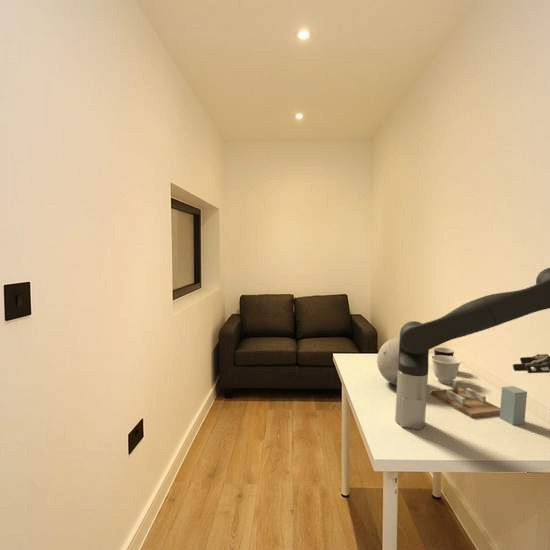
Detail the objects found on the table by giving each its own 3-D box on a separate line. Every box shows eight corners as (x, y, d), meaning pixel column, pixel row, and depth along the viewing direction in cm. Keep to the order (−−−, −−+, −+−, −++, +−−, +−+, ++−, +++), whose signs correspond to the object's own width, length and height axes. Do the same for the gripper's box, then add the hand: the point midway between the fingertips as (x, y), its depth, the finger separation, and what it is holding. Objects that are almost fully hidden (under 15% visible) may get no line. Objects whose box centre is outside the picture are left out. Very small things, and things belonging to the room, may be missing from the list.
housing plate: (503, 414, 125) (504, 396, 125) (471, 417, 122) (472, 399, 121) (459, 391, 145) (461, 376, 144) (430, 394, 141) (432, 378, 140)
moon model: (418, 399, 136) (421, 347, 135) (368, 385, 148) (370, 338, 147) (431, 384, 152) (434, 338, 151) (385, 373, 164) (387, 330, 163)
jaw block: (524, 423, 119) (527, 391, 118) (512, 425, 117) (515, 392, 117) (510, 416, 124) (513, 386, 123) (499, 418, 122) (502, 387, 121)
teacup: (465, 379, 158) (466, 358, 158) (455, 389, 147) (456, 365, 147) (436, 373, 166) (438, 352, 166) (425, 381, 155) (427, 358, 155)
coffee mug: (451, 374, 165) (452, 353, 164) (431, 370, 169) (432, 350, 168) (454, 368, 174) (455, 348, 174) (435, 364, 179) (436, 345, 178)
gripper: (576, 344, 116) (519, 348, 128) (567, 356, 107) (507, 358, 119) (583, 367, 115) (526, 369, 127) (575, 381, 106) (514, 381, 118)
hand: (517, 364), depth 123 cm, fingers open, 8 cm apart
